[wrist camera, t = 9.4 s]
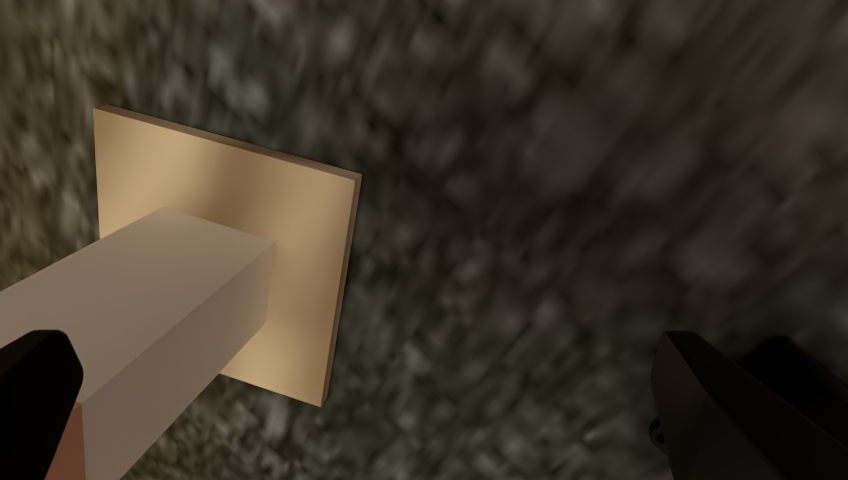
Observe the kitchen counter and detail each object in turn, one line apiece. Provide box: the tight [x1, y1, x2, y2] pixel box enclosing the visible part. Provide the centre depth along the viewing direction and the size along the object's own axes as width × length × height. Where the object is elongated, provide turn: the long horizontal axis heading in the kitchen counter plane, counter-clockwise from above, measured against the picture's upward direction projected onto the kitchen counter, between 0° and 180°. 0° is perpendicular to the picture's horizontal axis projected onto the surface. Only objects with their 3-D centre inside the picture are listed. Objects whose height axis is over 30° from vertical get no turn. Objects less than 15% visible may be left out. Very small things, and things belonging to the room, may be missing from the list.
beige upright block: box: [0, 206, 275, 480], centre depth 19 cm, size 5×4×13 cm
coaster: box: [93, 104, 362, 407], centre depth 25 cm, size 11×11×1 cm
